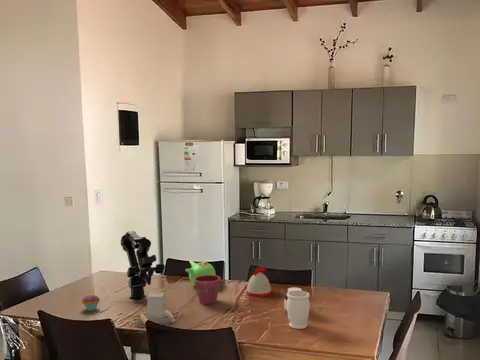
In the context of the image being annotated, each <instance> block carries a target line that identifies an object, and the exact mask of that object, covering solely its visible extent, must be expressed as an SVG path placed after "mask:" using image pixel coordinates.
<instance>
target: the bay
mask: <svg viewBox="0 0 480 360" xmlns="http://www.w3.org/2000/svg"><path fill="white" fill-rule="evenodd" d="M140 320H141V322H142V323H143V324H144V325H145V322H146V321H147V320H148V317H146V316H145V315H144V314H142V313H141V314H140ZM151 321H154V322H157V323H161V324H160V325H164V324H169V323H170V324H171V323H175V321H176V318H175V316H174V315H173V314H172V313H171V312H170V310H168V309H166V310H165V318H162V319H156V320H151Z"/></svg>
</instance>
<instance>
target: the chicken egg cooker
mask: <svg viewBox="0 0 480 360" xmlns="http://www.w3.org/2000/svg"><path fill="white" fill-rule="evenodd" d="M265 270H266V268H264V266H259V267H256V269H254V271H252V276H250V278H249V279H248V281H247V286H246V295H247V296H250V297H255V298H262V297H268V296H271V295H272V288H271V287H272V286H271V284H270V281H269V278H268V277H267V276H266V275H265V274H264V273H265Z"/></svg>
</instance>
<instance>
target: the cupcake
mask: <svg viewBox="0 0 480 360" xmlns="http://www.w3.org/2000/svg"><path fill="white" fill-rule="evenodd" d="M94 291H95V287H94V286H93V287H92V293H91V294H90V295H86V296H84V297H83V298H82V301H81V304H82V305H84V306H85V310H86V311H89V312H90V311H91V312H92V311H95V310H97V307H98V303H100V300H101V299H100V297H99V296H97V295H95V293H94Z"/></svg>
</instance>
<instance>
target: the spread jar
mask: <svg viewBox="0 0 480 360" xmlns="http://www.w3.org/2000/svg"><path fill="white" fill-rule="evenodd" d="M290 291H303V289H302V288H300V287H288V288H287V293H288V292H290ZM287 293H286V294H285V296H284V298H283V299H284V300H283V304H284V305H283V307H284V310H285V311H286V312H287V299H288V297H287Z"/></svg>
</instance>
